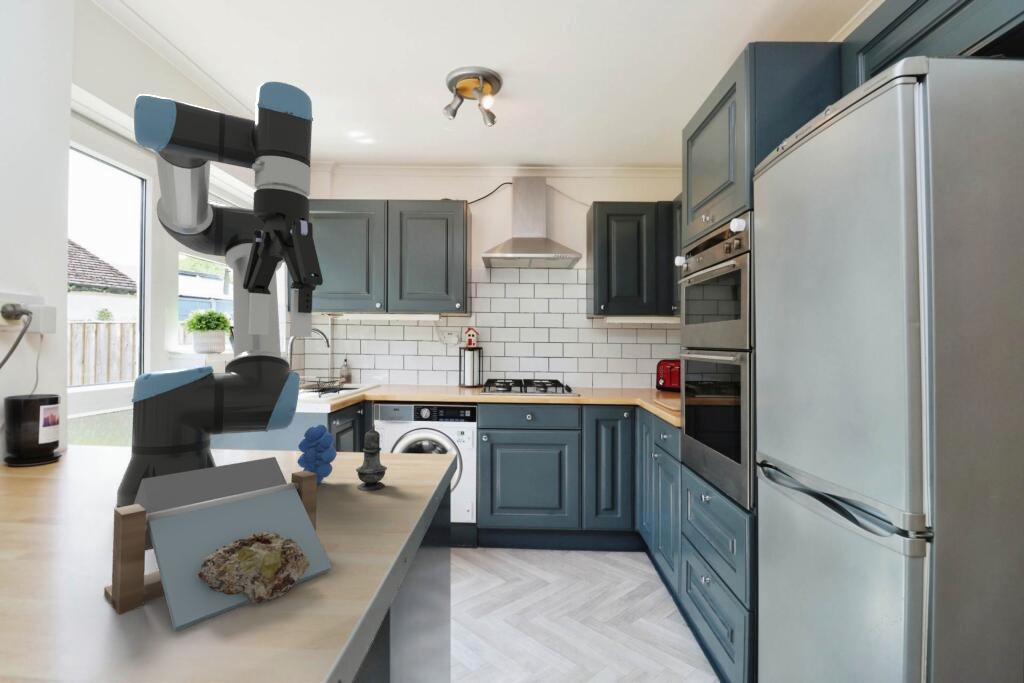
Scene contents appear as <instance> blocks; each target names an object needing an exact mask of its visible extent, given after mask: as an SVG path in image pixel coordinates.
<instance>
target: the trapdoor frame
mask: <svg viewBox="0 0 1024 683" xmlns="http://www.w3.org/2000/svg"><path fill="white" fill-rule="evenodd" d="M290 480H291V482H290V483H294V484H295V488H296V490H297V492H298V494H299V497H300V499H301V501H302V503H303V505H304V508H305V510H306V512H307V514H308V516H309V519H310V521H311V523H312V525H313V527H314V529H315V532H316V531H317V530H316V529H317V527H316V526H317V494H318V493H317V487H318V486H317V485H318V484H317V474H315V473H312V472H309V471H306V470H305V471H303V470H301V471H296V472H291V479H290ZM316 533H317V532H316ZM145 535H146V509H144V508H143V507H142V506H140V505H139V504H134V505H129V506H124V507H120V506H118V507H115V508H114V511H113V538H112V539H113V540H112V541H113V542H112V569H111V570H112V571H111V574H112V575H111V576H112V577H111V584H110V585H108V586H104V588H103V593H104V597H105V598H106V599H107V601H109V603H110V604H111V605H112V607H113V608H114V610H115V611H116V612H117V614H118V615H122V614H125V613H127V612H130V611H134V610H136V609H139V608H141V607H144V603H145V602H147V601H150V600H154V599H156V598H158V597H163V596H165V593H164V589H163V585H162V581H161V577H160V573H159V570H158V571H154V572H151V573H148V574H145V570H146V569H145V566H146V565H145V562H146V561H145V560H146V551H145Z"/></svg>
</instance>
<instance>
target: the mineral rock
mask: <svg viewBox="0 0 1024 683" xmlns="http://www.w3.org/2000/svg"><path fill="white" fill-rule="evenodd" d="M302 551H303V550H302V549H301V547H300V544H298V543H297V542H295V541H293V540H292V539H290V538H288V537H287V538H280V534H279V533H274V534H270V533H269V532H268V531H265V532H263V533H259V534H253V535H251V536H249V537H248V538H246V539H239V540H238V541H237V540H236V541H234V542H233V543H232V544H230V545H228V546H222V547H221V548H220V549H219V550H218V549H216V551H215V552H214V553H213V554H211V555H209V556H208V557H207V558H205V559H204V562H203V564H202V565H201V568H202V570H201V571H200V573H199V574H198V577H199V578H201V579H203V580H206V581H207V585H208V587H209V588H211V589H212V590H214V591H216V592H223V593H224V594H228V595H234V594H243V595H245V596H249V597H250V601H251V602H256V603H258V604H260V603H262V602H268V601H271V600H272V599H274V598H275V599H276V598H277V597H282V596H284V594H285V593H288V592H289V591H290V590H291V589H292V588H293V586H294V585H293V584H294V583H295V581H296V580H297V579H299V578H300V577H301V576H302V575H303V574H304V572H305V571H306V570H307V569H308V567H309V566H310V560H309V559H308V556H306V554H305V552H302Z"/></svg>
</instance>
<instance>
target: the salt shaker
mask: <svg viewBox="0 0 1024 683" xmlns="http://www.w3.org/2000/svg"><path fill="white" fill-rule="evenodd" d="M380 436H381V435H380V432H378V430H375V427H374V426H373V425H372V426H371V427H370V430H369V431H367V432H366V433H365V434H364V448H362V451H363V461H362V462H363V463H362V465H361V466H359V467H357V468H356V469H355V471H356V472H357V477H358V478H359V481H361V482H362V483H360V484H359V485H358V486H356V488H357V489H358V490H359V491H363V492H374V491H379V490H381V489H384V488H385V487H386V484H384V482H381V481H382V479H383V478H384V477H385V475H386V470H387V469H388V468H387V466H385V465H382V464H381V463H382V462H381V458H380V456H381V455H380V454H381V451H382V448H381V447H380V443H381V442H380V441H381V438H380Z"/></svg>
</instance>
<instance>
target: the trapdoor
mask: <svg viewBox="0 0 1024 683" xmlns="http://www.w3.org/2000/svg"><path fill="white" fill-rule="evenodd" d="M134 504H139V505H140V506H142V507H143V508H144V509H146V535H145V552H146V551H149V550H153V553H154V557H155V561H156V564H157V570H158V571H159V573H160V577H161V581H162V585H163V589H164V593H165V595H164V596H165V600H166V604H167V607H168V611H169V612H168V613H169V616H170V620H171V623H172V628H173V631H174V632H176V631H179V630H181V629H184V628H187V627H189V626H191V625H192V626H193V625H195V624H197V623H201V622H202V621H204V620H207V619H210V618H212V617H215V616H217V615H219V614H223V613H225V612H227V611H231V610H233V609H235V608H238V607H240V606H243V605H246V604H248V603H251V602H252V601H250V597H249V596H245V595H243V594H234V595H228V594H224V593H223V592H216V591H214V590H212V589H211V588H209V587H208V585H207V581H206V580H203V579H201V578H199V577H198V574H199V573H200V571H201V570H202V568H201V565H202V564H203V562H204V559H205V558H207V557H208V556H209V555H211V554H213V553H214V552H215V551H216V549H218V550H219V549H220V548H221V547H222V546H228V545H230V544H232V543H233V542H234V541H236V540H237V541H238V540H239V539H246V538H248V537H249V536H251V535H253V534H259V533H263V532H265V531H268V532H269V533H270V534H274V533H279V534H280V538H287V537H288V538H290V539H292V540H293V541H295V542H297V543H298V544H300V547H301V549H302V550H303V551H302V552H305V554H306V556H308V559H309V560H310V566H309V567H308V569H307V570H306V571H305V572H304V574H303V575H302V576H301V577H300V578H299V579H297V580H296V581H295V583H294V584H293V586H294V585H298V584H300V583H302V582H305V581H307V580H310V579H312V578H315V577H317V576H320V575H322V574H326V573H327V572H330V570H332V568H333V567H332V564H331V563H330V561H329V558H328V556H327V554H326V552H325V551H326V550H325V549H324V547H323V546H322V543H321V541H320V539H319V536H318V535H317V532H315V529H314V527H313V525H312V523H311V521H310V519H309V516H308V514H307V512H306V510H305V508H304V505H303V503H302V501H301V499H300V497H299V494H298V492H297V490H296V488H295V484H294V483H291V482H289V483H287V480H286V478H285V476H284V474H283V471H282V469H281V466H280V464H279V461H278V460H277V458H276V456H272V457H267V458H259V459H255V460H249V461H243V462H242V461H241V462H235V463H229V464H224V465H218V466H217V465H216V467H211V468H205V469H199V470H193V471H187V472H181V473H175V474H169V475H163V476H157V477H151V478H145V479H142V481H141V484H140V487H139V490H138V493H137V496H136V499H135V502H134Z"/></svg>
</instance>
